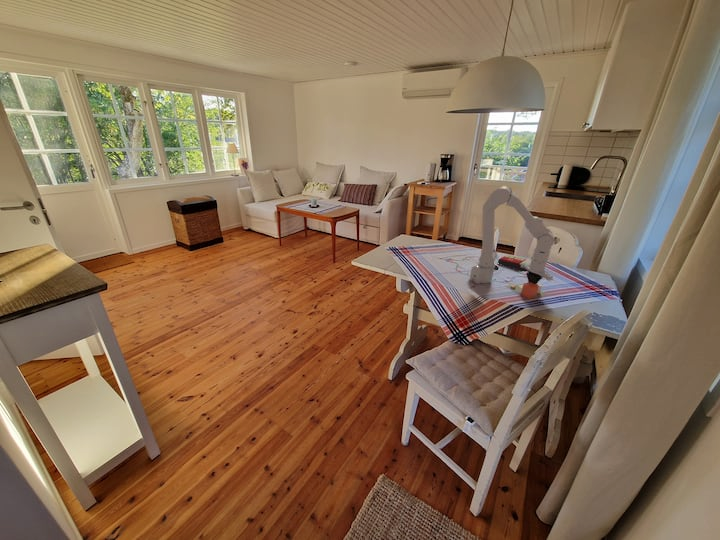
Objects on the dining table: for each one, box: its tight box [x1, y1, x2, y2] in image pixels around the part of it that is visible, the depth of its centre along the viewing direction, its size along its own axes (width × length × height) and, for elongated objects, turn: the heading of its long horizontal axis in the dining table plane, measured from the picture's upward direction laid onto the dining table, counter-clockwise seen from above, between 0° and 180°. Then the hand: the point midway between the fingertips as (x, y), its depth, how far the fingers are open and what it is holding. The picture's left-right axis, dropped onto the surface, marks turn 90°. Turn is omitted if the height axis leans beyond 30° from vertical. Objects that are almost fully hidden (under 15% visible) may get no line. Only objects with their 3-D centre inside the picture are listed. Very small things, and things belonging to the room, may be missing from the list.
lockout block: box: [521, 282, 539, 299], centre depth 123 cm, size 4×4×5 cm
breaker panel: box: [505, 283, 550, 300], centre depth 128 cm, size 12×12×2 cm
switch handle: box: [535, 283, 543, 293], centre depth 126 cm, size 4×2×3 cm, turn 108°
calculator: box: [497, 254, 532, 273], centre depth 157 cm, size 11×4×15 cm
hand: (531, 288), depth 128 cm, fingers closed
